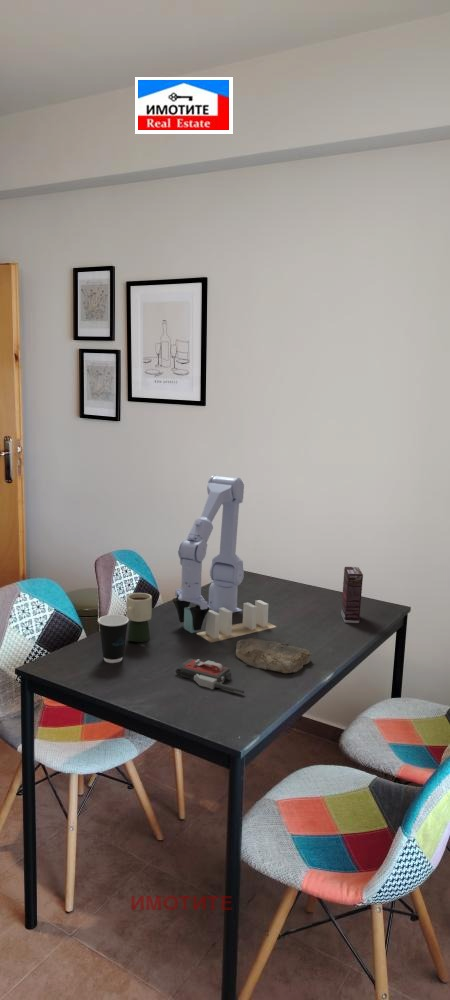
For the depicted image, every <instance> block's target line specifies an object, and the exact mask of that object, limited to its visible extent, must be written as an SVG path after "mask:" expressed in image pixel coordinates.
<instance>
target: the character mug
mask: <svg viewBox="0 0 450 1000" xmlns="http://www.w3.org/2000/svg"><path fill="white" fill-rule="evenodd" d="M152 597H153V596H152V595H151V594H149V593H146V592H132V593H129V594H127V595H126V602H125V604H126V614H125V616H126V617H127V618H128V619H129V621H130V622H129V624H128V629H127V631H128V632H127V640H128V641H129V642H134V643H144V642H148V641H149V640H150V639H151V638H150V637H151V636H150V635H151V634H150V626H149V620H151V619H152V613H153V612H152V610H153V609H152V607H153V598H152Z"/></svg>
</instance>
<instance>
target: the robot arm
mask: <svg viewBox="0 0 450 1000" xmlns="http://www.w3.org/2000/svg"><path fill="white" fill-rule="evenodd" d="M206 487H207V488H206V489H207V499H206V501H205V504H204V506H203V510H202V513H201V516H200V517H198V518H196V519H195V520H194V522H193V525H192V527H191V529H190V532H189V534H188V536H187V538H186V539H185V540H183V541H181V542H180V544H179V548H178V551H177V554H178V557H179V564H180V566H181V585H180V586H181V588H177V589H174V590H175V591H174V596H175V597H174V598H173V599H172V602H173V605H174V606H175V609H176V610H177V611H176V612H177V616H178V620H179V623H184V608H185V607H190V604H193V605H195V606H192V607H190V611H191V614H192V618H193V629H194V630H195V631H200V630H202V626H203V624H204V620H205V618H206V617H207V612H208V611H209V610H213V611H215V612H217V613H219V608H223V607H224V608H226V609H228V610H230V611H232V614H233V613H236V612H243V609H241V608H239V607H238V587H239V585H241V583H242V582H243V580H244V577H245V571H244V569H245V568H244V561H243V559H241V558H240V557H239V556H238V555H237V553H236V551H237V538H238V537H237V536H238V526H239V525H238V524H239V523H238V522H239V509H240V504H242V503H243V501H244V493H245V491H244V489H245V484H244V482H243V481H242V478H240V477H230V476H221V475H216V474H213V475H211V476H210V478H209V479H208V483H207V486H206ZM221 506H222V515H221V517H222V518H221V526H220V527H221V529H220V530H221V531H220V540H219V541H220V545H219V554H216V555H215V556H213V558H212V561H211V565H210V568H209V578H210V579H211V580H212V582H211V583H210V585H209V588H208V601H206V599H205V597H204V596H203V595H202V572H203V571H202V570H203V569H202V568H203V561H204V559H205V558H206V555H207V548H208V540H209V538H210V536H211V534H212V532H213V529H214V526H213V524H212V523H213V520H214V519H215V517H216V515H217V513H218V512H219V511H220V508H221Z"/></svg>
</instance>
